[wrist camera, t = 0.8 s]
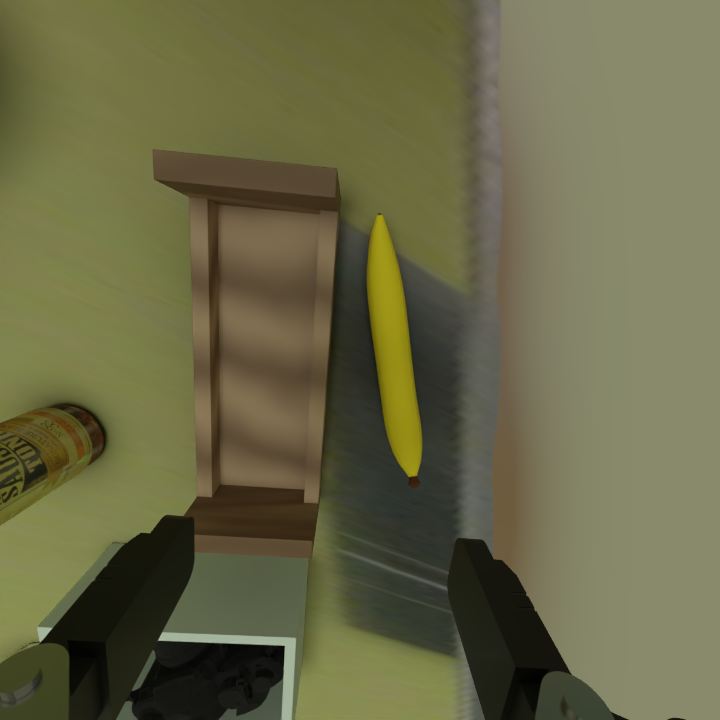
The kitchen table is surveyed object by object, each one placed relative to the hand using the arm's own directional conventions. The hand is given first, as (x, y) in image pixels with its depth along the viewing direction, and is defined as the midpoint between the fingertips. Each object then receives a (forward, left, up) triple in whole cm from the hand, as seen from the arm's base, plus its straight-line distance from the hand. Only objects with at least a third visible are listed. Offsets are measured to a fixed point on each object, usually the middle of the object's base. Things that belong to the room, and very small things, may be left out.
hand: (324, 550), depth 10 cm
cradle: (-1, -6, -19) cm, 20 cm away
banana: (-3, +4, -19) cm, 20 cm away
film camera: (+24, -10, -20) cm, 33 cm away
